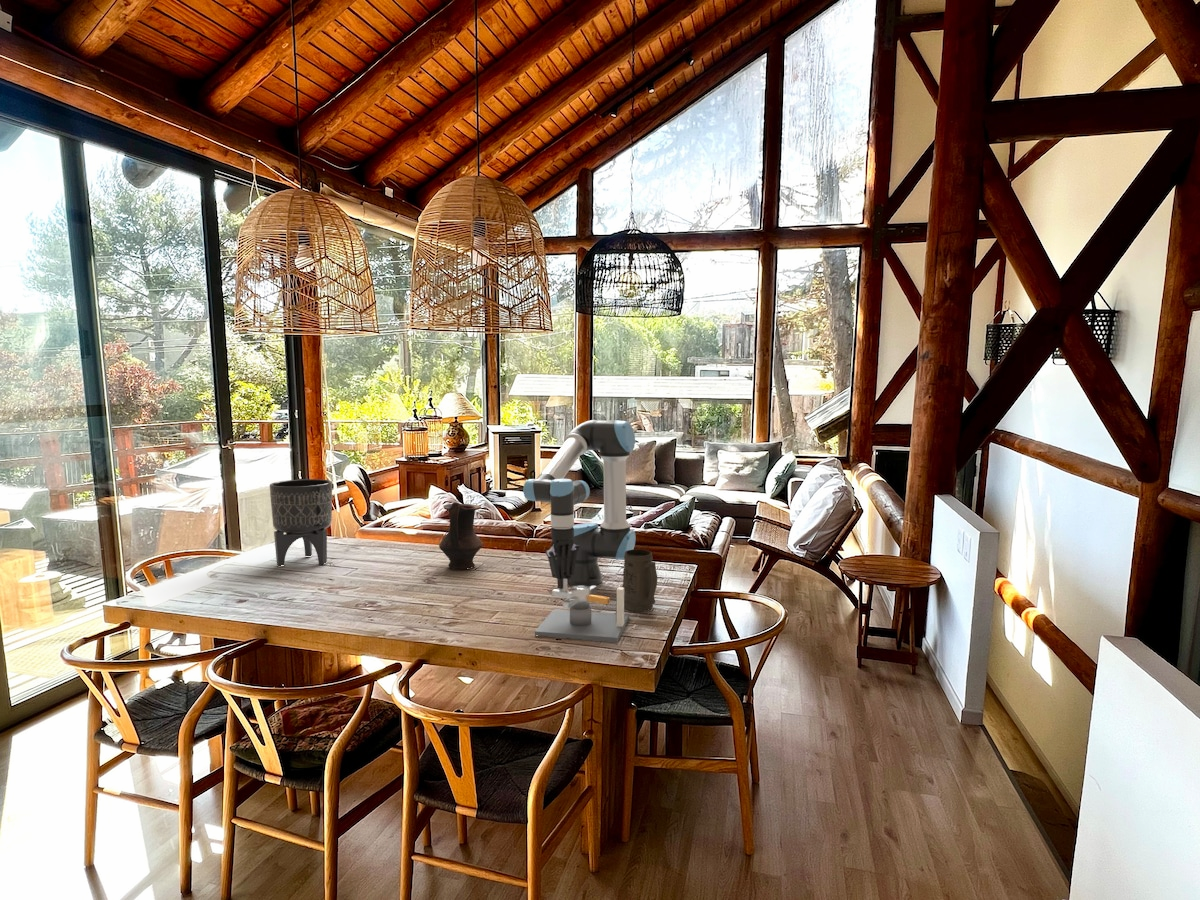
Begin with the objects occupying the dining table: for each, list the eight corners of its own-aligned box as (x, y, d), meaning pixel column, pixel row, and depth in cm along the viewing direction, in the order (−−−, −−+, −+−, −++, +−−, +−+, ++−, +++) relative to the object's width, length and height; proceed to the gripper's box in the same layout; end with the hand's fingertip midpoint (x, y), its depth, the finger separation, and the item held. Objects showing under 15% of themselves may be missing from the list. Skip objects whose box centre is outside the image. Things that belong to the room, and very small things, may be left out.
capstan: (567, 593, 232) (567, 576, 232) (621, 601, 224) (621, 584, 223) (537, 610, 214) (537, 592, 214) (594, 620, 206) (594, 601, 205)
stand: (553, 613, 233) (553, 574, 232) (628, 618, 228) (629, 579, 226) (534, 636, 211) (534, 593, 210) (617, 642, 206) (617, 599, 205)
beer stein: (614, 605, 241) (617, 551, 238) (635, 599, 248) (638, 546, 246) (647, 619, 230) (650, 562, 227) (667, 611, 238) (671, 556, 235)
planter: (283, 573, 282) (280, 488, 279) (264, 561, 301) (261, 482, 298) (343, 563, 299) (341, 483, 296) (322, 552, 318) (319, 477, 314)
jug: (445, 561, 302) (444, 494, 300) (487, 562, 302) (486, 495, 299) (432, 574, 281) (430, 502, 279) (476, 574, 281) (475, 503, 278)
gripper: (569, 522, 228) (570, 591, 230) (539, 528, 219) (540, 599, 221) (584, 525, 222) (585, 595, 224) (554, 531, 213) (555, 604, 216)
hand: (563, 597), depth 223 cm, fingers closed
